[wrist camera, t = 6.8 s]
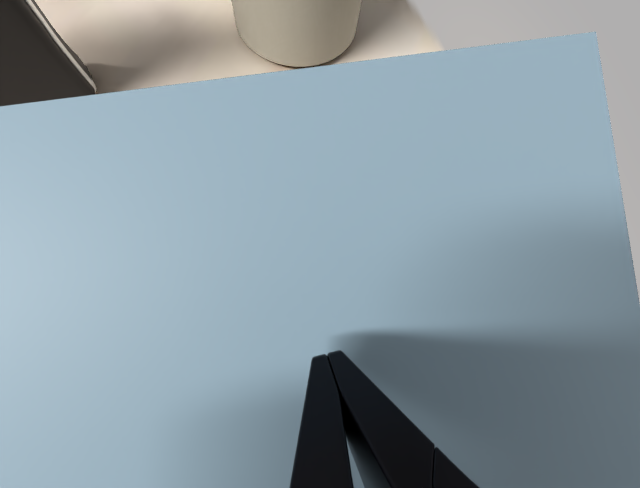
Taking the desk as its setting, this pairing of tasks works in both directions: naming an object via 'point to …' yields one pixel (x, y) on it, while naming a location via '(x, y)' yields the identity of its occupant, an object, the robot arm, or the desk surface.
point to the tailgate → (320, 271)
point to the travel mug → (297, 29)
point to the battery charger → (36, 58)
